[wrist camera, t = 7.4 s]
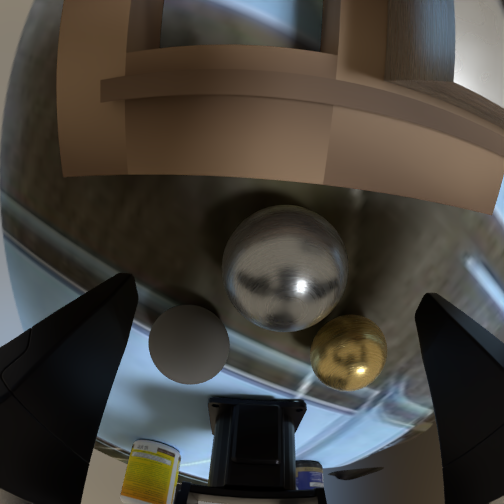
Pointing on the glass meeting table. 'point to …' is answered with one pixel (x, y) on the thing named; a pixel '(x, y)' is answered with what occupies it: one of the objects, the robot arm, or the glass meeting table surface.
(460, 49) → the grey sliding block
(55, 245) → the glass meeting table surface
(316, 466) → the pill bottle
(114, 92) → the housing plate
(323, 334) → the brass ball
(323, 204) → the glass meeting table surface
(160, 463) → the supplement bottle
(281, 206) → the steel ball
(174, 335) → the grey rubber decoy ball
